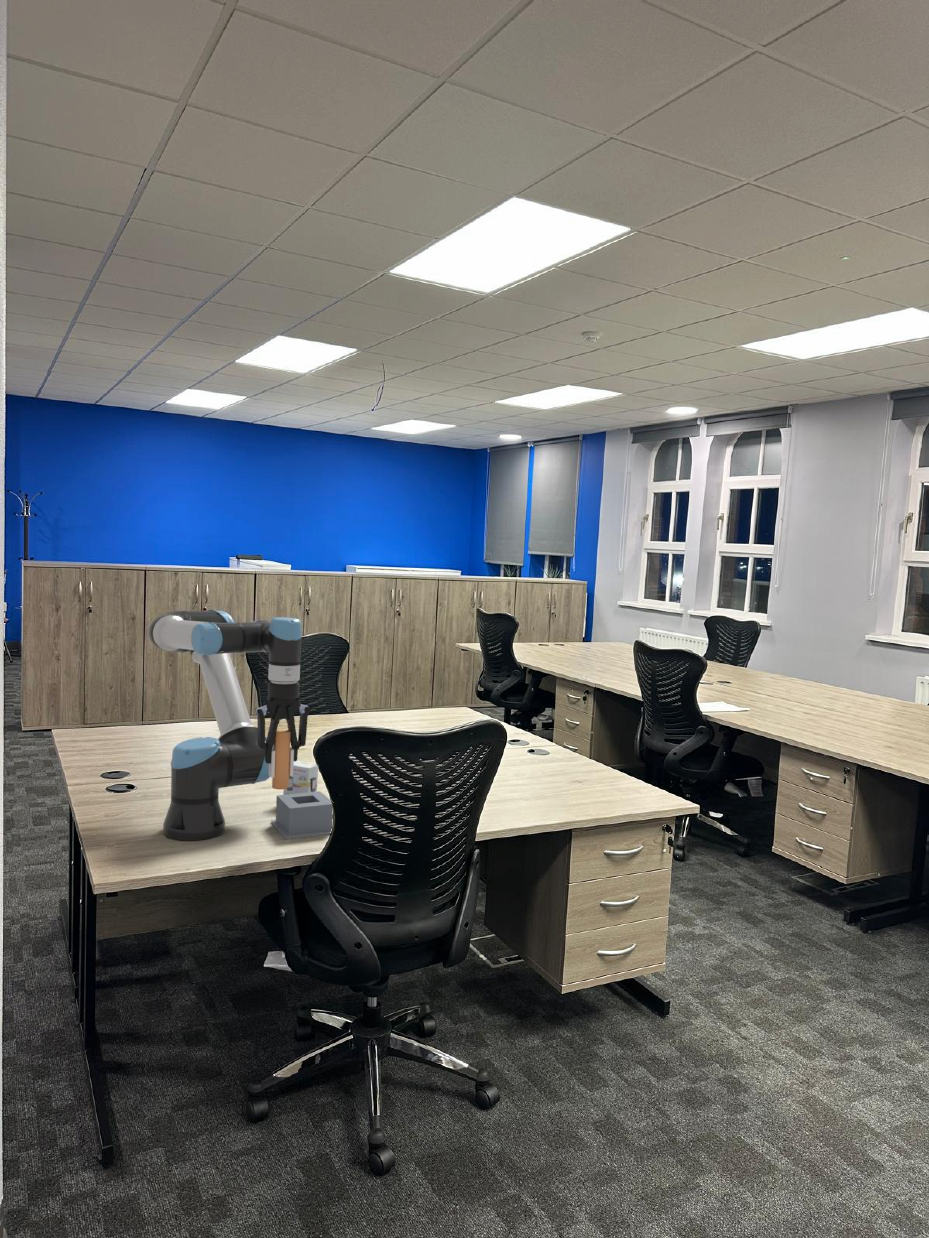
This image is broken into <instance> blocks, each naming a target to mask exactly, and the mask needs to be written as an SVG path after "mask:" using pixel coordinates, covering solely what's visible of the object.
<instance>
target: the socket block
mask: <svg viewBox="0 0 929 1238" xmlns="http://www.w3.org/2000/svg"><path fill="white" fill-rule="evenodd" d="M330 800H331V799H330V798H329V797H327V796H326V795H325V794H324V793H323V792H321V791H320V790H317V792H307V793H296V794H286V795H283V794H277V795H276V801H275V802H276V805H275V809H276V810H275V819H272V820H270V823H271V824H272V825H273V827H275V829H277V830H278V832H279V833H280V834H281V835H282V836H283V838H284V839H286V840H293V839H298V838H299V839H300V838H307V837H308V838H309V837H316V836H325V835H331V834H330V832H331V829H332V819H333V814H332V804H331V801H332V800H331V801H330Z"/></svg>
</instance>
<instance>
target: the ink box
mask: <svg viewBox="0 0 929 1238" xmlns="http://www.w3.org/2000/svg"><path fill="white" fill-rule="evenodd" d="M316 764H317V763H311V762H306V761H302V760H297V761H294V764H293V776H290V775H289V788H287V789H283V792H282V793H283V794H282V795H286V794H296V793H307V792H317V791H318V777H319V775H318V774H319V766H318V767H317V765H318V764H317V765H316Z"/></svg>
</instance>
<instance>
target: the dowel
mask: <svg viewBox="0 0 929 1238" xmlns="http://www.w3.org/2000/svg"><path fill="white" fill-rule="evenodd" d="M290 735H291V731H289V730H288V729H277V731H276V736H275V740H274V745H273V750H275V777H272V780H271V788H272V789H274V790H284V789H287V788H289V763H290V747H291V743H290Z"/></svg>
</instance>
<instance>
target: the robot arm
mask: <svg viewBox="0 0 929 1238" xmlns="http://www.w3.org/2000/svg"><path fill="white" fill-rule="evenodd" d="M147 632H148V639H149V641H150V642H151V644H152V645H153V647H155V648H156V649H159V650H161V651H164V652H169V653H190V656H191V658H192V659H191V660H192V661H193V662H194V663H196V664H199V667H200V669H201V673H202V677H203V679H204V683H205V687H206V690H207V693H208V697H209V700H210V704H211V707H212V711H213V713H214V717H215V720H216V724H217V727H218V730H219V737H218V738H216V737H212V736H211V737H210V736H207V737H206V736H205V737H202V736H201V737H194V738H193V737H192V738H190V739H186V740H183V741H181V742H179V743H177V744H176V745H175V746H174V747H173V749H172V751H171V752H172V753H171V761H170V767H171V768H170V769H171V770H170V771H171V774H170V775H171V776H170V777H171V779H170V780H171V781H170V782H171V783H170V798H171V799H170V804H169V806H168V809H167V812H166V815H165V818H164V821H163V825H162V827H163V828H162V829H163V830H162V833H163V835H164V836H165V837H166V838H170V839H173V840H178V841H199V840H201V841H202V840H207V839H212V838H215V837H218V836H219V835H221V834H223V833H224V832H225V828H226V822H225V821H226V820H225V817H224V814H223V812H222V807H221V803H220V801H219V791H220V789H222V788H223V789H224V788H229V787H237V786H242V785H243V786H244V785H255V784H257V783H260V782H265V781H268V780H269V778H272V777H275V750H273V745H274V740H275V736H276V731H277V730H278V727H279V724H280V721H281V720H286V723H287V730H289V731H291V735H290V763H289V775H290V776H293V764H294V761H298V750H299V749H300V747H305V746H306V742H307V731H308V717H309V714H310V712H311V707H310V706H308V705H307V704H302V703H301V701H300V683H299V682H298V681H300V679H301V677H300V676H301V675H300V674H301V657H302V655H301V654H302V637H303V634H302V633H303V631H302V621H301V620H300V619H298V618H295V617H288V616H287V617H284V616H279V617H277V616H276V617H273V618H271V620H270V621H268V620H266V619H265V620H261V619H257V620H256V619H255V620H253V621H247V622H243V621H241V622H235V621H234V619H233V617H232V616H231V615H230V614H229V613H228V612H226V611H223V610H215V609H207V610H171V611H168V612H164V613H162V614H160V615H157V616H156V617H155V618H154V619H153V620H152V621H151V623H150V624H149V627H148V631H147ZM242 653H243V654H244V653H267V654H268V673H267V675H268V676H267V677H268V680H269V682H268V683H267V700H266V702H265V704H264V705H263V706H261V707H259V706H258V707H257V706H256V707H255V708H254V712H255V713H256V717H257V726H256V725H253V724H252V720H251V717H250V714H249V711H248V708H247V705H246V701H245V699H244V695H243V692H242V689H241V685H240V682H239V680H238V676H237V673H236V669H235V666H234V664H233V663H234V662H233V660H232V657H231V654H242ZM298 710H299V713H300V714H299V725H298V734H297V729H296V724H295V722H296V720H295V719H296V718H295V714H296V713H297V712H298ZM267 711H268V713H270V715H271V716H270V721H269V722H270V723H269V727H268V732H267V735H266V718H265V716H266V715H267Z"/></svg>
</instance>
